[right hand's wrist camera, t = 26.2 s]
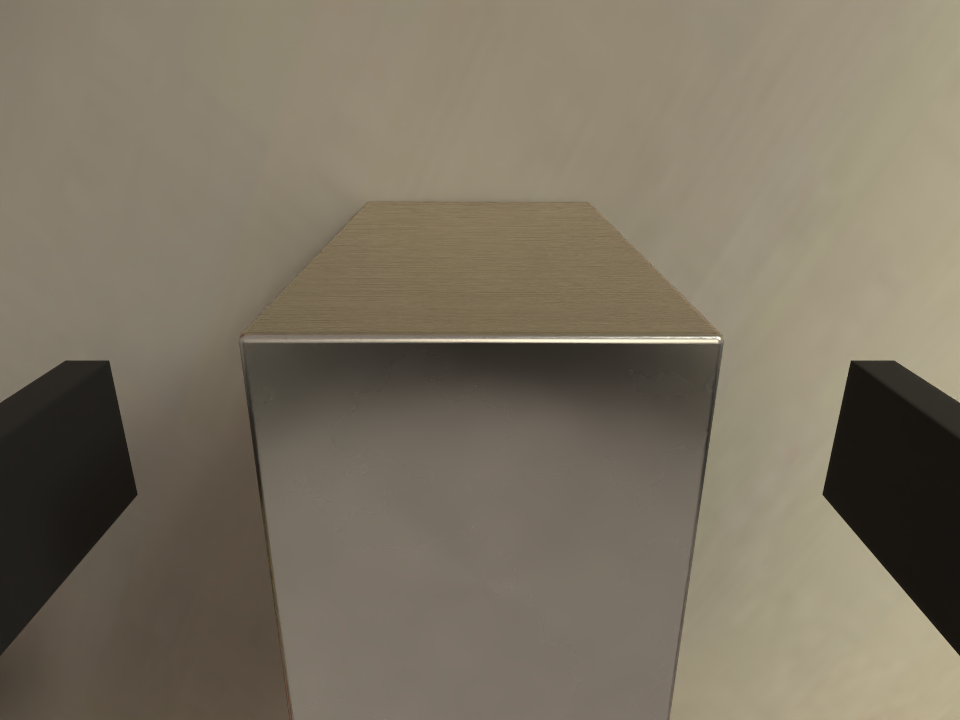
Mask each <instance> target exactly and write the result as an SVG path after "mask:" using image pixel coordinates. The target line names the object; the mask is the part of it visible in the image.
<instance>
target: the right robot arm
mask: <svg viewBox="0 0 960 720" xmlns="http://www.w3.org/2000/svg"><path fill="white" fill-rule="evenodd" d="M136 496H137V490H136V485H135V481H134V476H133V471H132V466H131V462H130V457H129V452H128V448H127V443H126V438H125V433H124V429H123V424H122V419H121V415H120V410H119V405H118V401H117V396H116V391H115V386H114V382H113V377H112V372H111V368H110V363H109V361H64V362H63V363H61V364H60V365H58V366H57V367H55V368H54V369H52V370H50V371H49V372H47V373H46V374H44V375H43V376H41V377H40V378H38V379H37V380H35V381H33V382H32V383H30V384H29V385H27V386H26V387H24V388H23V389H21V390H20V391H18V392H16V393H15V394H13V395H12V396H10V397H9V398H7V399H6V400H4V401H3V402H1V403H0V655H1V654H2V653H3V652H4V651H5V650H6V648H7V647H8V646H9V645H10V644H11V643H12V641H13V640H14V639H15V638H16V637H17V635H18V634H19V633H20V632H21V631H22V630H23V628H24V627H25V626H26V625H27V624H28V623H29V621H30V620H31V619H32V618H33V617H34V616H35V614H36V613H37V612H38V611H39V610H40V609H41V607H42V606H43V605H44V604H45V603H46V601H47V600H48V599H49V598H50V597H51V596H52V594H53V593H54V592H55V591H56V590H57V589H58V587H59V586H60V585H61V584H62V583H63V582H64V580H65V579H66V578H67V577H68V576H69V574H70V573H71V572H72V571H73V570H74V569H75V567H76V566H77V565H78V564H79V563H80V562H81V560H82V559H83V558H84V557H85V556H86V555H87V553H88V552H89V551H90V550H91V549H92V547H93V546H94V545H95V544H96V543H97V542H98V540H99V539H100V538H101V537H102V536H103V535H104V533H105V532H106V531H107V530H108V529H109V528H110V526H111V525H112V524H113V523H114V522H115V520H116V519H117V518H118V517H119V516H120V515H121V513H122V512H123V511H124V510H125V509H126V508H127V506H128V505H129V504H130V503H131V502H132V501H133V499H134V498H135V497H136ZM823 496H824V497H825V498H826V499H827V501H828V502H829V503H830V504H831V505H832V506H833V508H834V509H835V510H836V511H837V512H838V513H839V515H840V516H841V517H842V518H843V519H844V520H845V522H846V523H847V524H848V525H849V526H850V528H851V529H852V530H853V531H854V532H855V533H856V535H857V536H858V537H859V538H860V539H861V540H862V542H863V543H864V544H865V545H866V546H867V547H868V549H869V550H870V551H871V552H872V553H873V555H874V556H875V557H876V558H877V559H878V560H879V562H880V563H881V564H882V565H883V566H884V567H885V569H886V570H887V571H888V572H889V573H890V574H891V576H892V577H893V578H894V579H895V580H896V582H897V583H898V584H899V585H900V586H901V587H902V589H903V590H904V591H905V592H906V593H907V594H908V596H909V597H910V598H911V599H912V600H913V601H914V603H915V604H916V605H917V606H918V607H919V609H920V610H921V611H922V612H923V613H924V614H925V616H926V617H927V618H928V619H929V620H930V621H931V623H932V624H933V625H934V626H935V627H936V628H937V630H938V631H939V632H940V633H941V634H942V635H943V637H944V638H945V639H946V640H947V641H948V643H949V644H950V645H951V646H952V647H953V648H954V650H955V651H956V652H957V653H958V654H959V655H960V403H959V402H957V401H956V400H954V399H953V398H951V397H950V396H948V395H947V394H945V393H944V392H942V391H940V390H939V389H937V388H936V387H934V386H933V385H931V384H930V383H928V382H927V381H925V380H923V379H922V378H920V377H919V376H917V375H916V374H914V373H913V372H911V371H910V370H908V369H906V368H905V367H903V366H902V365H900V364H899V363H897V362H896V361H851V363H850V368H849V372H848V377H847V382H846V386H845V391H844V396H843V401H842V405H841V410H840V415H839V419H838V424H837V429H836V433H835V438H834V443H833V448H832V452H831V457H830V462H829V466H828V471H827V476H826V481H825V485H824V490H823Z"/></svg>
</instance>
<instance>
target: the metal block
mask: <svg viewBox="0 0 960 720" xmlns="http://www.w3.org/2000/svg"><path fill="white" fill-rule="evenodd" d="M723 343H724V340H723V337H722V335H721V334H720V333H719V332H718V331H717V330H716V329H715V328H714V327H713V326H712V325H711V324H710V323H709V322H708V321H707V320H706V319H705V318H704V317H703V316H702V315H701V314H700V313H699V312H698V311H697V310H696V309H695V308H694V307H693V306H692V305H691V304H690V303H689V302H688V301H687V300H686V299H685V298H684V297H683V296H682V295H681V294H680V293H679V292H678V291H677V290H676V289H675V288H674V287H673V286H672V285H671V284H670V283H669V282H668V281H667V280H666V279H665V278H664V277H663V276H662V275H661V274H660V273H659V272H658V271H657V270H656V269H655V268H654V267H653V266H652V265H651V264H650V263H649V262H648V261H647V260H646V259H645V258H644V257H643V256H642V255H641V254H640V253H639V252H638V251H637V250H636V249H635V248H634V247H633V246H632V245H631V244H630V243H629V242H628V241H627V240H626V239H625V238H624V237H623V236H622V235H621V234H620V233H619V232H618V231H617V230H616V229H615V228H614V227H613V226H612V225H611V224H610V223H609V222H608V221H607V220H606V219H605V218H604V217H603V216H602V215H601V214H600V213H599V212H598V211H597V210H596V209H595V208H594V207H593V206H592V205H591V204H589V203H573V202H368V203H367V204H366V205H365V206H364V207H363V208H362V209H361V210H360V211H359V212H358V213H357V214H356V215H355V216H354V217H353V218H352V219H351V220H350V221H349V222H348V223H347V224H346V225H345V226H344V227H343V228H342V230H341V231H340V232H339V233H338V234H337V235H336V236H335V237H334V238H333V239H332V240H331V241H330V242H329V243H328V244H327V245H326V246H325V247H324V248H323V249H322V250H321V251H320V252H319V253H318V255H317V256H316V257H315V258H314V259H313V260H312V261H311V262H310V263H309V264H308V265H307V266H306V267H305V268H304V269H303V270H302V271H301V272H300V273H299V274H298V275H297V276H296V277H295V278H294V279H293V281H292V282H291V283H290V284H289V285H288V286H287V287H286V288H285V289H284V290H283V291H282V292H281V293H280V294H279V295H278V296H277V297H276V298H275V299H274V300H273V301H272V302H271V303H270V304H269V305H268V307H267V308H266V309H265V310H264V311H263V312H262V313H261V314H260V315H259V316H258V317H257V318H256V319H255V320H254V321H253V322H252V323H251V324H250V325H249V326H248V327H247V328H246V329H245V330H244V332H243V333H242V334H241V335H240V339H239V345H240V352H241V360H242V367H243V374H244V382H245V389H246V397H247V404H248V412H249V419H250V427H251V434H252V442H253V449H254V457H255V464H256V472H257V479H258V487H259V494H260V501H261V509H262V516H263V524H264V531H265V539H266V546H267V554H268V561H269V569H270V576H271V584H272V591H273V599H274V606H275V614H276V621H277V628H278V636H279V643H280V651H281V658H282V666H283V673H284V681H285V688H286V696H287V703H288V711H289V718H290V720H669V719H670V712H671V705H672V698H673V691H674V684H675V677H676V670H677V663H678V656H679V649H680V642H681V635H682V628H683V622H684V615H685V608H686V601H687V594H688V587H689V580H690V573H691V566H692V559H693V552H694V545H695V538H696V531H697V524H698V517H699V510H700V503H701V496H702V489H703V482H704V476H705V469H706V462H707V455H708V448H709V441H710V434H711V427H712V420H713V413H714V406H715V399H716V392H717V385H718V378H719V371H720V364H721V357H722V350H723Z"/></svg>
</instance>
